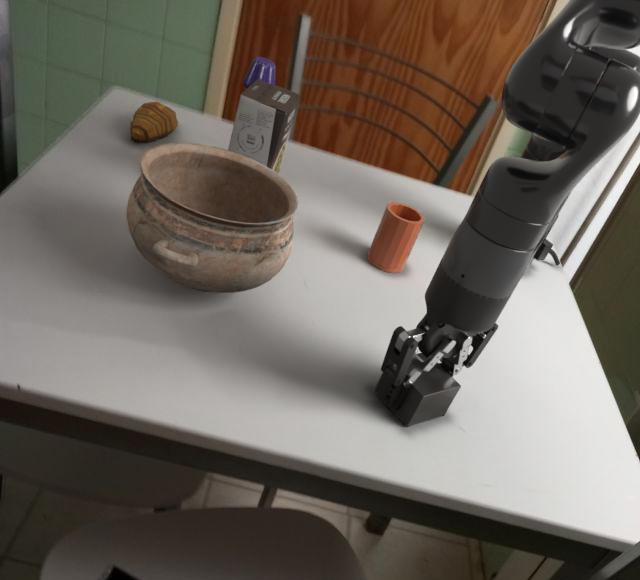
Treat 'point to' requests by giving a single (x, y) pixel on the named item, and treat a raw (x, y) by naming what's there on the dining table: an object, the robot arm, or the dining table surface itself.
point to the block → (424, 394)
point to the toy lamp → (260, 72)
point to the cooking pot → (211, 217)
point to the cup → (395, 237)
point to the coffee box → (264, 123)
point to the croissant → (152, 122)
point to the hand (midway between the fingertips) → (411, 399)
